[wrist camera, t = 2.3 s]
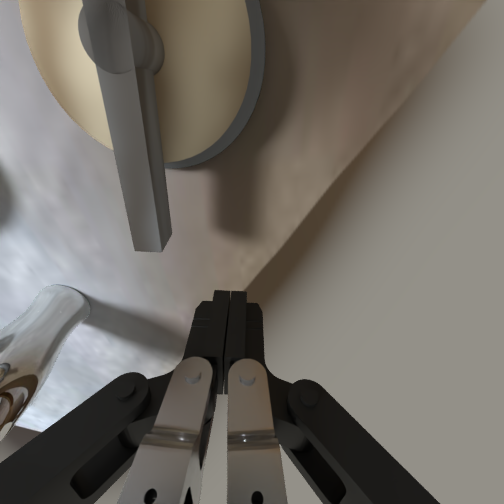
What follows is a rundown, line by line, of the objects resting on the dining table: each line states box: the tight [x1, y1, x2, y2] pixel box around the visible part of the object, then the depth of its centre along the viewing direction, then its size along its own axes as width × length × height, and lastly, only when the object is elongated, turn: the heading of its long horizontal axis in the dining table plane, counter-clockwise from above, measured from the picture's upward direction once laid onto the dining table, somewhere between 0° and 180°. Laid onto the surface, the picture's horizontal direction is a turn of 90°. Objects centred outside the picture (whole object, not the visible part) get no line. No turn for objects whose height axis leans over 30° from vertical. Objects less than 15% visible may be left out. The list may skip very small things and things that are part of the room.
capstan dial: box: [19, 0, 251, 252], centre depth 15 cm, size 14×25×6 cm, turn 177°
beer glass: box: [0, 285, 90, 442], centre depth 27 cm, size 7×7×15 cm
